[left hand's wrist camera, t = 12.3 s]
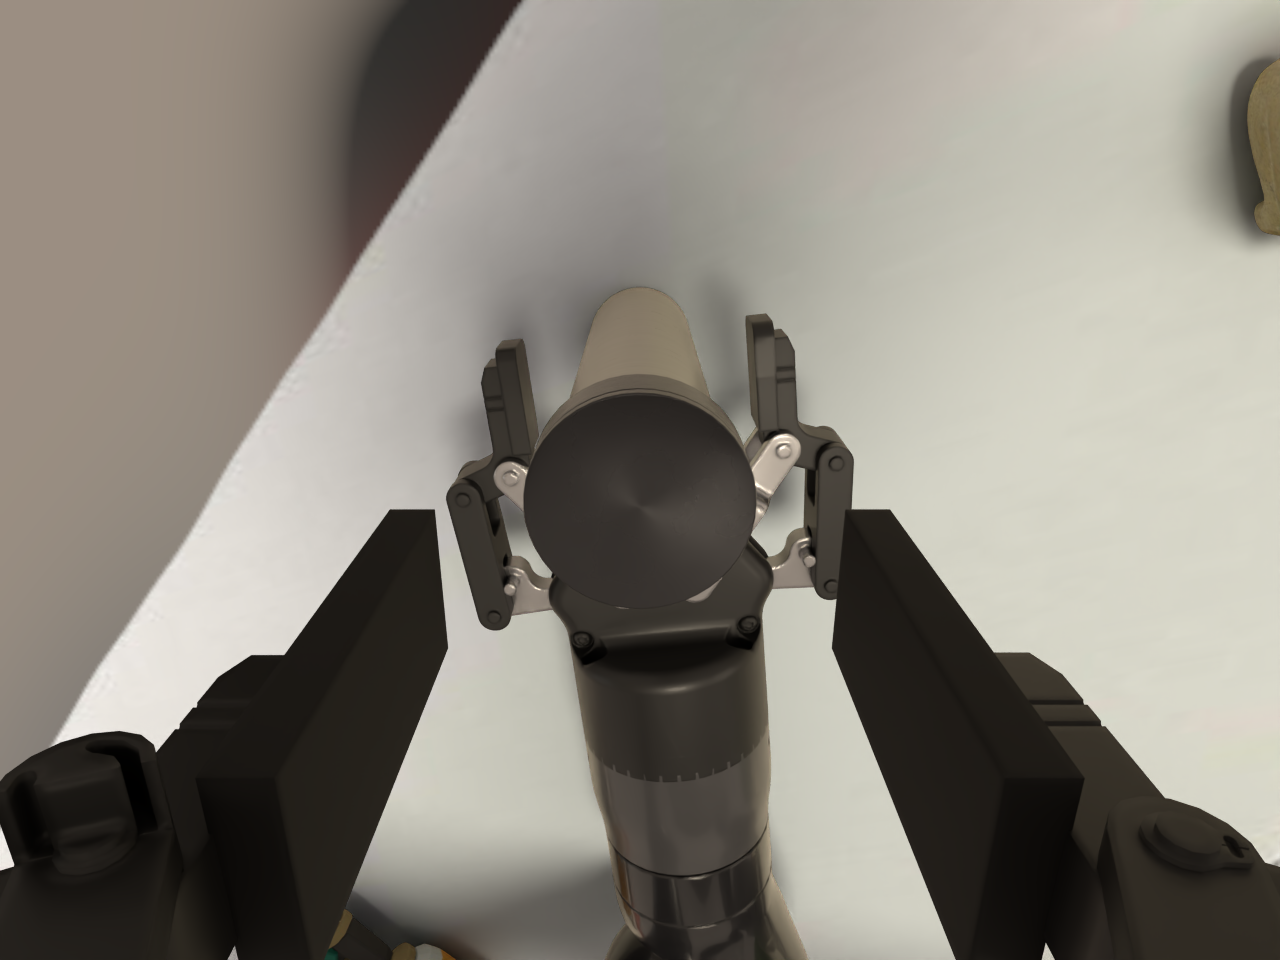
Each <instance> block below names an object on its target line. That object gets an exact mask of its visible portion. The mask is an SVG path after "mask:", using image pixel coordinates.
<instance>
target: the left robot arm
mask: <svg viewBox="0 0 1280 960" xmlns="http://www.w3.org/2000/svg"><path fill="white" fill-rule="evenodd" d="M447 650H448V642H447V632H446V621H445V611H444V600H443V590H442V580H441V569H440V559H439V548H438V538H437V528H436V517H435V510H389V512H388V513H387V514H386V516H385V517H384V519H383V520H382V521H381V523H380V524H379V525H378V527H377V528H376V530H375V531H374V532H373V534H372V535H371V536H370V538H369V539H368V541H367V542H366V543H365V545H364V546H363V548H362V549H361V550H360V552H359V553H358V554H357V556H356V557H355V559H354V560H353V561H352V563H351V564H350V565H349V567H348V568H347V570H346V571H345V572H344V574H343V575H342V576H341V578H340V579H339V581H338V582H337V583H336V585H335V586H334V587H333V589H332V590H331V592H330V593H329V594H328V596H327V597H326V598H325V600H324V601H323V603H322V604H321V605H320V607H319V608H318V609H317V611H316V612H315V614H314V615H313V616H312V618H311V619H310V620H309V622H308V623H307V625H306V626H305V627H304V629H303V630H302V632H301V633H300V634H299V636H298V637H297V638H296V640H295V641H294V643H293V644H292V645H291V647H290V648H289V649H288V651H287V652H286V654H285V655H251V656H249V657H248V658H246V659H245V660H243V661H242V662H240V663H239V664H237V665H236V666H234V667H233V668H231V669H230V670H228V671H227V672H225V673H224V674H222V675H221V676H219V677H218V678H217V679H216V680H215V682H214V683H213V684H212V685H211V687H210V688H209V689H208V690H207V691H206V693H205V694H204V695H203V696H202V697H201V699H200V700H199V701H198V702H197V708H192V710H191V711H190V712H189V713H188V714H187V716H186V717H185V718H184V719H183V721H182V722H181V723H180V728H179V729H175V730H174V731H173V733H172V734H171V735H170V736H169V738H168V739H167V740H166V741H165V742H164V744H163V745H162V746H161V747H160V748H159V750H158V751H157V752H156V751H155V747H154V745H153V744H152V743H151V742H150V741H148V740H147V739H146V738H145V737H143V736H142V735H139V734H133V733H128V732H122V731H115V732H104V733H93V734H89V735H85V736H82V737H78V738H75V739H71V740H68V741H64V742H61V743H59V744H57V745H54V746H52V747H50V748H48V749H46V750H44V751H42V752H40V753H38V754H35V755H33V756H31V757H30V758H28V759H27V760H25V761H24V762H23V763H21V764H20V765H19V766H17V767H16V768H14V769H13V770H12V771H10V772H9V773H7V774H6V775H5V776H4V777H3V779H2V780H1V781H0V825H1V828H2V831H3V834H4V836H5V839H6V842H7V845H8V848H9V851H10V853H11V856H12V859H13V862H14V867H11V868H8V869H4V870H1V871H0V960H227V959H228V957H229V955H230V954H231V952H232V950H233V948H234V946H235V948H236V952H237V956H238V960H324V959H325V956H326V954H327V951H328V949H329V946H330V944H331V941H332V939H333V936H334V934H335V931H336V929H337V926H338V924H339V921H340V919H341V916H342V914H343V911H344V909H345V906H346V904H347V901H348V899H349V896H350V894H351V891H352V888H353V886H354V883H355V881H356V878H357V876H358V873H359V871H360V868H361V866H362V863H363V861H364V858H365V856H366V853H367V851H368V848H369V846H370V843H371V841H372V838H373V836H374V833H375V831H376V828H377V826H378V823H379V821H380V818H381V816H382V813H383V811H384V808H385V805H386V803H387V800H388V798H389V795H390V793H391V790H392V788H393V785H394V783H395V780H396V778H397V775H398V773H399V770H400V768H401V765H402V763H403V760H404V758H405V755H406V753H407V750H408V748H409V745H410V743H411V740H412V738H413V735H414V733H415V730H416V728H417V725H418V722H419V720H420V717H421V715H422V712H423V710H424V707H425V705H426V702H427V700H428V697H429V695H430V692H431V690H432V687H433V685H434V682H435V680H436V677H437V675H438V672H439V670H440V667H441V665H442V662H443V660H444V657H445V655H446V652H447ZM832 650H833V652H834V655H835V657H836V660H837V662H838V665H839V667H840V670H841V672H842V675H843V677H844V680H845V682H846V685H847V687H848V690H849V692H850V695H851V697H852V700H853V702H854V705H855V707H856V710H857V712H858V715H859V717H860V720H861V722H862V725H863V728H864V730H865V733H866V735H867V738H868V740H869V743H870V745H871V748H872V750H873V753H874V755H875V758H876V760H877V763H878V765H879V768H880V770H881V773H882V775H883V778H884V780H885V783H886V785H887V788H888V790H889V793H890V795H891V798H892V800H893V803H894V805H895V808H896V811H897V813H898V816H899V818H900V821H901V823H902V826H903V828H904V831H905V833H906V836H907V838H908V841H909V843H910V846H911V848H912V851H913V853H914V856H915V858H916V861H917V863H918V866H919V868H920V871H921V873H922V876H923V878H924V881H925V883H926V886H927V888H928V891H929V894H930V896H931V899H932V901H933V904H934V906H935V909H936V911H937V914H938V916H939V919H940V921H941V924H942V926H943V929H944V931H945V934H946V936H947V939H948V941H949V944H950V946H951V949H952V951H953V954H954V956H955V959H956V960H1042V956H1043V952H1044V948H1045V943H1046V944H1047V946H1048V947H1049V949H1050V951H1051V953H1052V955H1053V957H1054V959H1055V960H1280V867H1278V866H1275V865H1271V864H1268V863H1265V862H1264V861H1263V859H1262V858H1261V856H1260V855H1259V853H1258V852H1257V851H1256V849H1255V848H1254V846H1253V845H1252V843H1251V842H1249V841H1248V840H1247V839H1246V838H1245V837H1243V836H1242V835H1241V834H1240V833H1239V832H1237V831H1236V830H1235V829H1234V828H1232V827H1231V826H1230V825H1229V824H1227V823H1226V822H1224V821H1222V820H1220V819H1218V818H1216V817H1214V816H1213V815H1211V814H1209V813H1207V812H1205V811H1203V810H1201V809H1200V808H1197V807H1194V806H1190V805H1187V804H1184V803H1181V802H1178V801H1175V800H1172V799H1167V798H1164V796H1163V795H1162V794H1161V793H1160V792H1159V790H1158V789H1157V788H1156V787H1155V786H1154V784H1153V783H1152V782H1151V781H1150V780H1149V778H1148V777H1147V776H1146V775H1145V774H1144V772H1143V771H1142V770H1141V769H1140V767H1139V766H1138V765H1137V764H1136V763H1135V761H1134V760H1133V759H1132V758H1131V757H1130V755H1129V754H1128V753H1127V752H1126V751H1125V749H1124V748H1123V747H1122V746H1121V745H1120V743H1119V742H1118V741H1117V740H1116V739H1115V737H1114V736H1113V735H1112V734H1111V733H1110V731H1109V730H1108V729H1107V728H1106V727H1105V726H1101V720H1100V719H1099V718H1098V717H1097V716H1096V714H1095V713H1094V712H1093V711H1092V710H1091V708H1090V707H1089V706H1088V705H1084V703H1083V699H1082V698H1081V696H1080V695H1079V694H1078V693H1077V692H1076V690H1075V689H1074V688H1073V687H1072V686H1071V684H1070V683H1069V682H1068V681H1067V679H1066V678H1065V677H1064V676H1063V675H1062V674H1061V673H1059V672H1058V671H1056V670H1055V669H1053V668H1052V667H1050V666H1049V665H1047V664H1046V663H1044V662H1043V661H1041V660H1040V659H1038V658H1037V657H1035V656H1033V655H1032V654H1030V653H994V652H993V651H992V649H991V648H990V647H989V645H988V644H987V643H986V641H985V640H984V638H983V637H982V636H981V634H980V633H979V632H978V630H977V629H976V627H975V626H974V625H973V623H972V622H971V620H970V619H969V618H968V616H967V615H966V614H965V612H964V611H963V609H962V608H961V607H960V605H959V604H958V603H957V601H956V600H955V598H954V597H953V596H952V594H951V593H950V592H949V590H948V589H947V587H946V586H945V585H944V583H943V582H942V581H941V579H940V578H939V576H938V575H937V574H936V572H935V571H934V570H933V568H932V567H931V565H930V564H929V563H928V561H927V560H926V559H925V557H924V556H923V554H922V553H921V552H920V550H919V549H918V548H917V546H916V545H915V543H914V542H913V541H912V539H911V538H910V536H909V535H908V534H907V532H906V531H905V530H904V528H903V527H902V525H901V524H900V523H899V521H898V520H897V519H896V517H895V516H894V514H893V513H892V512H891V510H845V517H844V528H843V538H842V548H841V559H840V569H839V580H838V590H837V600H836V611H835V621H834V632H833V642H832Z"/></svg>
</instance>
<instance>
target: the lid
mask: <svg viewBox="0 0 1280 960" xmlns="http://www.w3.org/2000/svg"><path fill="white" fill-rule="evenodd" d="M756 508H757V493H756V485H755V479H754V475H753V472H752V469H751V466H750V463H749V460H748V457H747V454H746V452H745V449H744V446H743V444H742V441H741V438H740V436H739V434H738V432H737V430H736V428H735V426H734V425H733V423H732V422H731V420H730V419H729V417H728V416H727V415H726V413H725V412H724V411H723V410H722V409H721V408H720V407H719V406H718V405H717V404H716V403H715V402H714V401H713V400H711V399H710V398H709V397H708V396H707V395H705V394H704V393H702V392H700V391H699V390H697V389H696V388H694V387H692V386H690V385H688V384H685V383H683V382H681V381H678V380H675V379H672V378H668V377H664V376H658V375H651V374H630V375H621V376H617V377H612V378H608V379H605V380H602V381H599V382H597V383H594V384H592V385H590V386H588V387H586V388H584V389H582V390H581V391H579V392H578V393H576V394H575V395H574V396H572V397H571V398H569V399H568V400H567V401H566V402H565V403H564V404H563V405H562V406H561V407H560V408H559V409H558V410H557V411H556V412H555V414H554V415H553V416H552V417H551V418H550V420H549V422H548V423H547V425H546V426H545V428H544V430H543V432H542V434H541V436H540V439H539V441H538V443H537V446H536V449H535V451H534V454H533V457H532V459H531V462H530V465H529V468H528V472H527V475H526V478H525V484H524V492H523V510H524V517H525V523H526V526H527V530H528V533H529V536H530V538H531V541H532V543H533V545H534V547H535V549H536V551H537V552H538V554H539V556H540V557H541V559H542V560H543V562H544V563H545V564H546V565H547V566H548V568H549V569H550V570H551V571H552V572H553V573H554V574H555V575H556V576H557V577H558V578H559V579H560V580H561V581H562V582H564V583H565V584H566V585H568V586H569V587H571V588H572V589H573V590H575V591H577V592H579V593H580V594H582V595H584V596H586V597H588V598H590V599H593V600H595V601H598V602H601V603H604V604H608V605H611V606H616V607H623V608H633V609H647V608H658V607H663V606H669V605H673V604H676V603H679V602H682V601H685V600H687V599H689V598H692V597H694V596H696V595H698V594H700V593H701V592H703V591H705V590H706V589H708V588H710V587H711V586H712V585H714V584H715V583H716V582H717V581H719V580H720V579H721V578H722V577H723V576H724V575H725V574H726V573H727V572H728V571H729V570H730V569H731V568H732V567H733V565H734V564H735V563H736V561H737V560H738V559H739V557H740V556H741V554H742V552H743V550H744V549H745V547H746V545H747V543H748V540H749V538H750V535H751V533H752V530H753V526H754V522H755V517H756Z"/></svg>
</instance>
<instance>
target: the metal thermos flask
mask: <svg viewBox="0 0 1280 960" xmlns="http://www.w3.org/2000/svg"><path fill="white" fill-rule="evenodd" d="M630 374H651V375H658V376H664V377H668V378H672V379H675V380H678V381H681V382H683V383H685V384H688V385H690V386H692V387H694V388H696V389H697V390H699V391H700V392H702V393H704V394H705V395H707V396H708V397H709V398H710V395H709V392H708V389H707V385H706V382H705V379H704V375H703V372H702V369H701V365H700V362H699V359H698V355H697V352H696V349H695V346H694V342H693V339H692V336H691V332H690V329H689V326H688V323H687V320H686V317H685V315H684V313H683V311H682V310H681V308H680V307H679V306H678V305H677V303H676V302H675V301H674V300H672V299H671V298H670V297H669V296H667V295H666V294H664V293H662V292H660V291H657V290H654V289H650V288H643V287H637V288H630V289H626V290H623V291H620V292H618V293H616V294H614V295H613V296H611V297H610V298H609V299H607V300H606V301H605V302H604V303H603V304H602V306H601V307H600V308H599V310H598V311H597V313H596V315H595V317H594V319H593V323H592V326H591V329H590V333H589V336H588V339H587V342H586V346H585V349H584V352H583V356H582V359H581V362H580V366H579V369H578V372H577V376H576V379H575V382H574V385H573V389H572V392H571V395H570V398H571V397H572V396H574V395H575V394H576V393H578V392H579V391H581V390H582V389H584V388H586V387H588V386H590V385H592V384H594V383H597V382H599V381H602V380H605V379H608V378H612V377H617V376H621V375H630ZM710 399H711V398H710Z"/></svg>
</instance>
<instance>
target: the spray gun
mask: <svg viewBox="0 0 1280 960" xmlns="http://www.w3.org/2000/svg"><path fill="white" fill-rule="evenodd" d="M324 960H456V959H454V958H453V957H452V956H450V955H449V954H447V953H446V952H445V951H443V950H442V949H440V948H437V947H435V946H431V945H428V944H422V945H419V946H417V947H414V946H412V945H411V944H409V943H407V942H405V943H402V944H400V945H398V946H397V947H396V948H395V949H394V950H392V951H391V949H390V948H389V947H388V946H387V945H386V944H385V943H384V942H383V941H381V940H380V939H379V938H378V937H376V936H375V935H374V934H373V933H372V932H370V931H369V930H368V929H367V928H366V927H364V926H363V925H362V924H361V923H360V922H358V921H357V920H356V919H355V918H352V914H351V913H350V912H349V911H347V910H346V909H344V911H343V914H342V916H341V919H340V922H339V924H338V926H337V929H336V931H335V934H334V936H333V939H332V941H331V944H330V946H329V949H328V951H327V954H326V956H325V959H324Z"/></svg>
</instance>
